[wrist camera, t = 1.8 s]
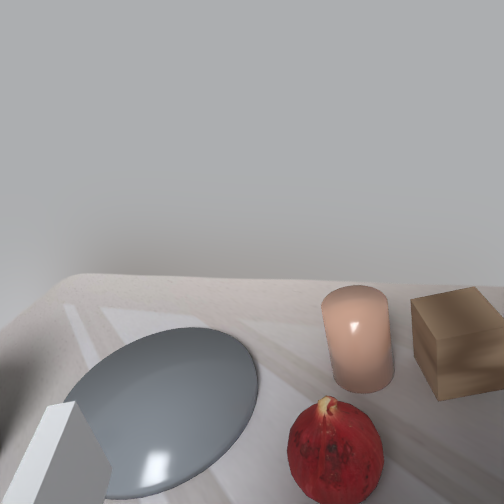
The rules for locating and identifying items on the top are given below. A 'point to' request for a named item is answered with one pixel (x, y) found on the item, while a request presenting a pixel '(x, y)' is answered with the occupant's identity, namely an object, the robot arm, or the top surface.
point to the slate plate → (167, 407)
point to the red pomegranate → (335, 453)
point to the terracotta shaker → (359, 338)
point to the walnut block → (458, 343)
